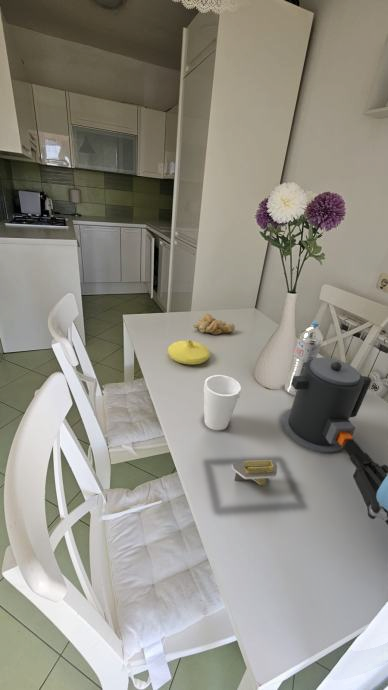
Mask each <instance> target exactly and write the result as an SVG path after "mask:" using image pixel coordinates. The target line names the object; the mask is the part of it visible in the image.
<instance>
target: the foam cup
mask: <svg viewBox="0 0 388 690" xmlns="http://www.w3.org/2000/svg"><path fill="white" fill-rule="evenodd" d="M241 391H242V387H241V384H240V383H239V382H238V380H237V379H235V378H233V377H231V376H228V375H224V374H213V375H210V376H208V377H207V378H205V380H204V384H203V392H202V393H203V415H204V416H203V417H204V420H203V421H204V424H205V426H206V427H208V428H209V429H211V430H213V431H223V430H226V428H227V427H229V425H230V424H229V423H230V422H231V421H230V420H231V419H232V416H233V413H234V411H235V408H236V405H237V402H238V400H239V398H240V395H241Z"/></svg>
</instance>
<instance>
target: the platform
mask: <svg viewBox="0 0 388 690" xmlns="http://www.w3.org/2000/svg"><path fill="white" fill-rule="evenodd" d="M231 468H232V471H234V472H235V475H234V479H233V481H234V482H235V481H237V482H238V481H254V482H255V483H256V484H258V485H260V486H264V487H265V486H266V482H267V480H269V479H274V478H276V477H277V475H278V474H277V473H278V464H277V462H276V461H275V460H271V459H263V460H245V461H238V462H237V461H234V462H232V463H231Z"/></svg>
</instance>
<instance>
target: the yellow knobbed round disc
mask: <svg viewBox="0 0 388 690" xmlns="http://www.w3.org/2000/svg"><path fill="white" fill-rule="evenodd" d="M167 353H168V357H169V358H171V359H172V360H173V361H174V362H176V363H180V364H184V365H200V364H202V363H205V362H206V361H208V359H209V358H210V356H211V352H210V349H209V348H208V346H206V345H204V344H203V343H201V342H197V341H193V340H191V339H188V340H179V341H175V342H173V343H171V344H170V345H169V347H168V348H167Z"/></svg>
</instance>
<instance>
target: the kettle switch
mask: <svg viewBox="0 0 388 690" xmlns="http://www.w3.org/2000/svg"><path fill="white" fill-rule="evenodd" d="M336 440H337V441H338V442H339V444H340V445H341V446H344V447H345V445H346V442H347V440H354V437H353V435H352V436H351V434H350V433H349V432H348V431H343V432H339V433H338V435H337V438H336Z"/></svg>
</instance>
